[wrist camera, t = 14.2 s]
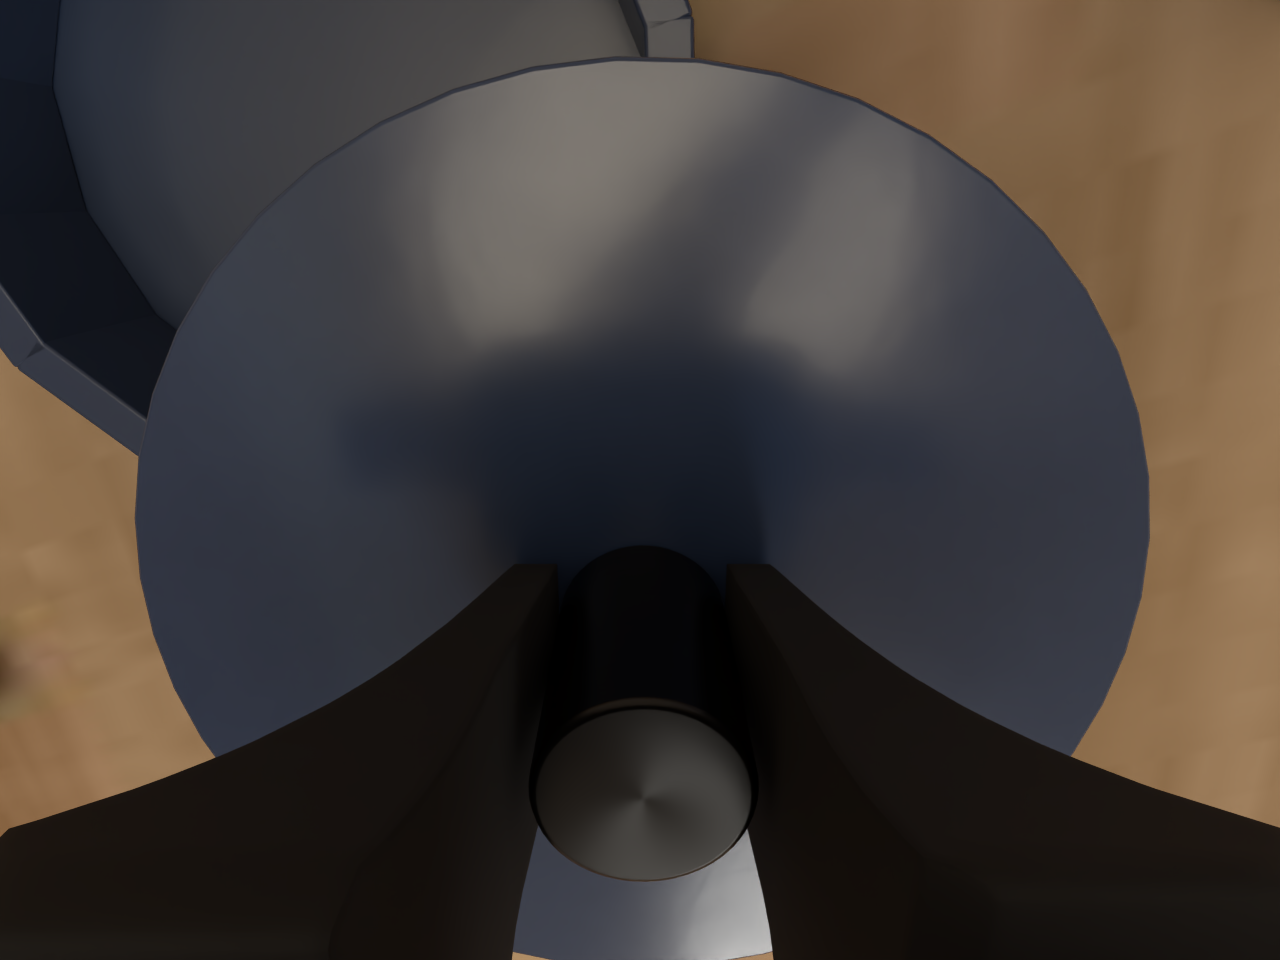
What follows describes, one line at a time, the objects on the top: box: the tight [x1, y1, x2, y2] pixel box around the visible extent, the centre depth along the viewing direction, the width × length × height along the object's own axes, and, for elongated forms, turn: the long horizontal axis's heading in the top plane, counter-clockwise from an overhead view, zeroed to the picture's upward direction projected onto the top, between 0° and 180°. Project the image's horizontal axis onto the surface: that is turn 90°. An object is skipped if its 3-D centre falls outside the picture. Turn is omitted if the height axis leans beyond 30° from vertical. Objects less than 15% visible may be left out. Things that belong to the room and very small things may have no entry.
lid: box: [135, 56, 1150, 960], centre depth 10 cm, size 15×15×5 cm
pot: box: [0, 0, 694, 456], centre depth 14 cm, size 14×14×4 cm
